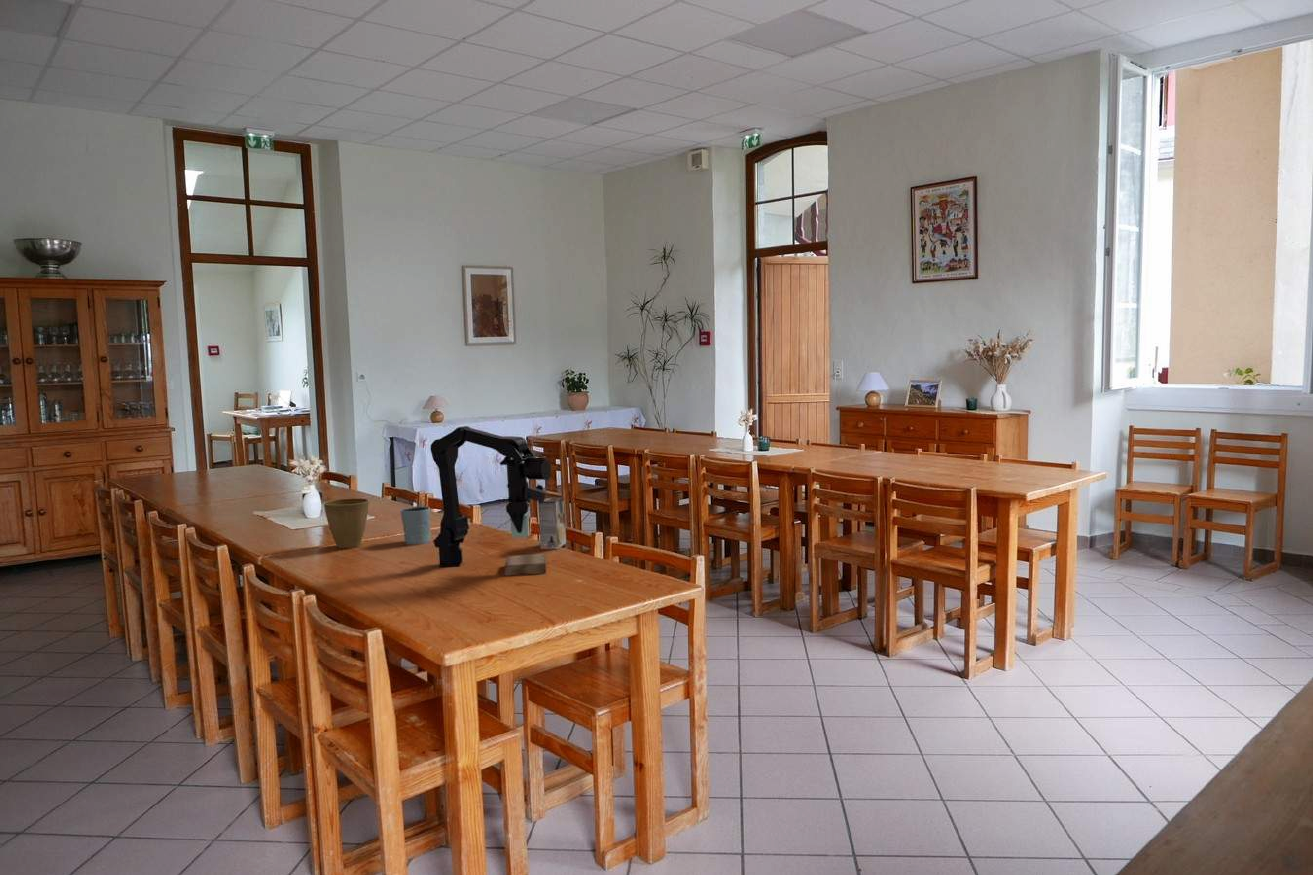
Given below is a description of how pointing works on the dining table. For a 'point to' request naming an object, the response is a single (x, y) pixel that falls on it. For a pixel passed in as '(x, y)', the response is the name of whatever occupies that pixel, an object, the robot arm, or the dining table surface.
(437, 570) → the dining table surface
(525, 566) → the grayish brown panel
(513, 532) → the sage block
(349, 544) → the plant pot
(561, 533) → the coffee box
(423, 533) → the blue-grey cup
